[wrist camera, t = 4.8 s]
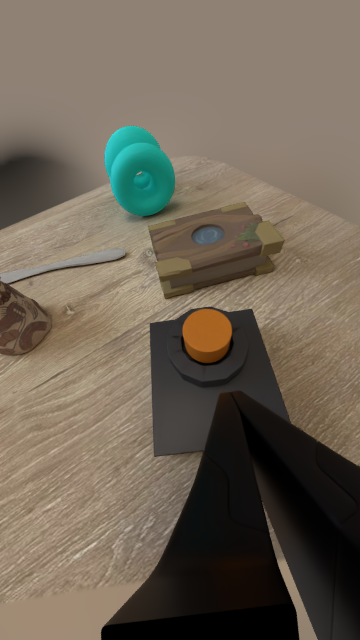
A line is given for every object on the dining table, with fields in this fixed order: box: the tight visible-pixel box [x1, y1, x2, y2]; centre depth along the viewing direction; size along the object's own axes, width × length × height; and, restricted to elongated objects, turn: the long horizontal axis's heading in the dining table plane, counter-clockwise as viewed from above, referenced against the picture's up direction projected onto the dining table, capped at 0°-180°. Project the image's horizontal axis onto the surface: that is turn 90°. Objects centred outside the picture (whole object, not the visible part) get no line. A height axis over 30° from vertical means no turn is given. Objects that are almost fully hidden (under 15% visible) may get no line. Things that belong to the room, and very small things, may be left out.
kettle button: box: [183, 309, 232, 363], centre depth 16 cm, size 4×4×2 cm
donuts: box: [105, 126, 175, 216], centre depth 35 cm, size 10×10×10 cm
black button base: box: [150, 307, 291, 457], centre depth 19 cm, size 11×10×6 cm
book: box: [148, 202, 285, 299], centre depth 28 cm, size 15×11×5 cm
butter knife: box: [0, 248, 125, 283], centre depth 32 cm, size 1×27×3 cm
